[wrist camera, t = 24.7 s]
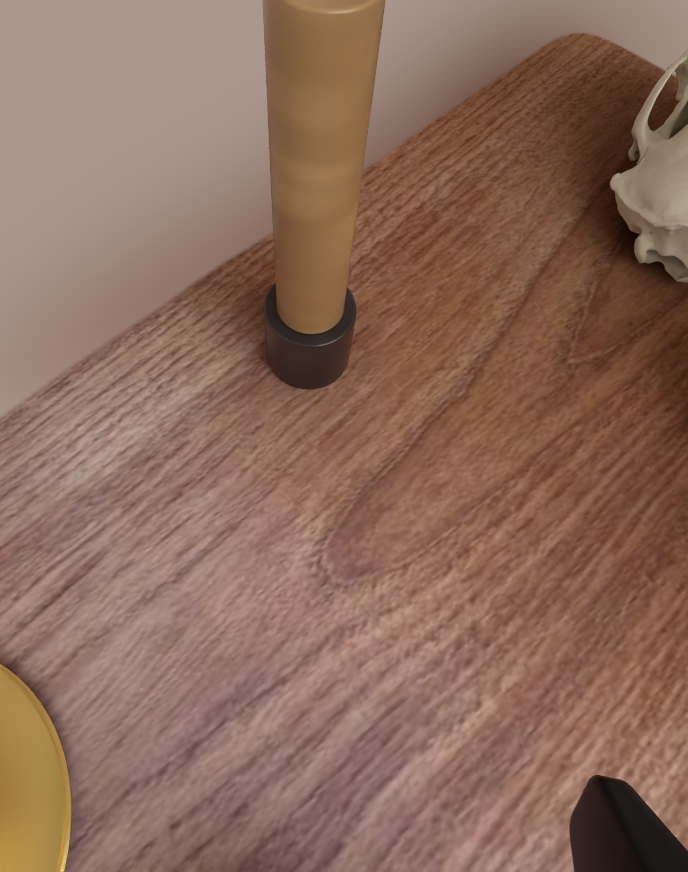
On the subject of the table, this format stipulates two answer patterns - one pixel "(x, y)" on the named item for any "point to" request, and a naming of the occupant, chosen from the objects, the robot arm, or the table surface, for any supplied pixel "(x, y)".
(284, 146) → the wooden furniture leg
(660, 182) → the animal skull
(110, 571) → the table surface
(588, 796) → the robot arm
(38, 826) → the cup
